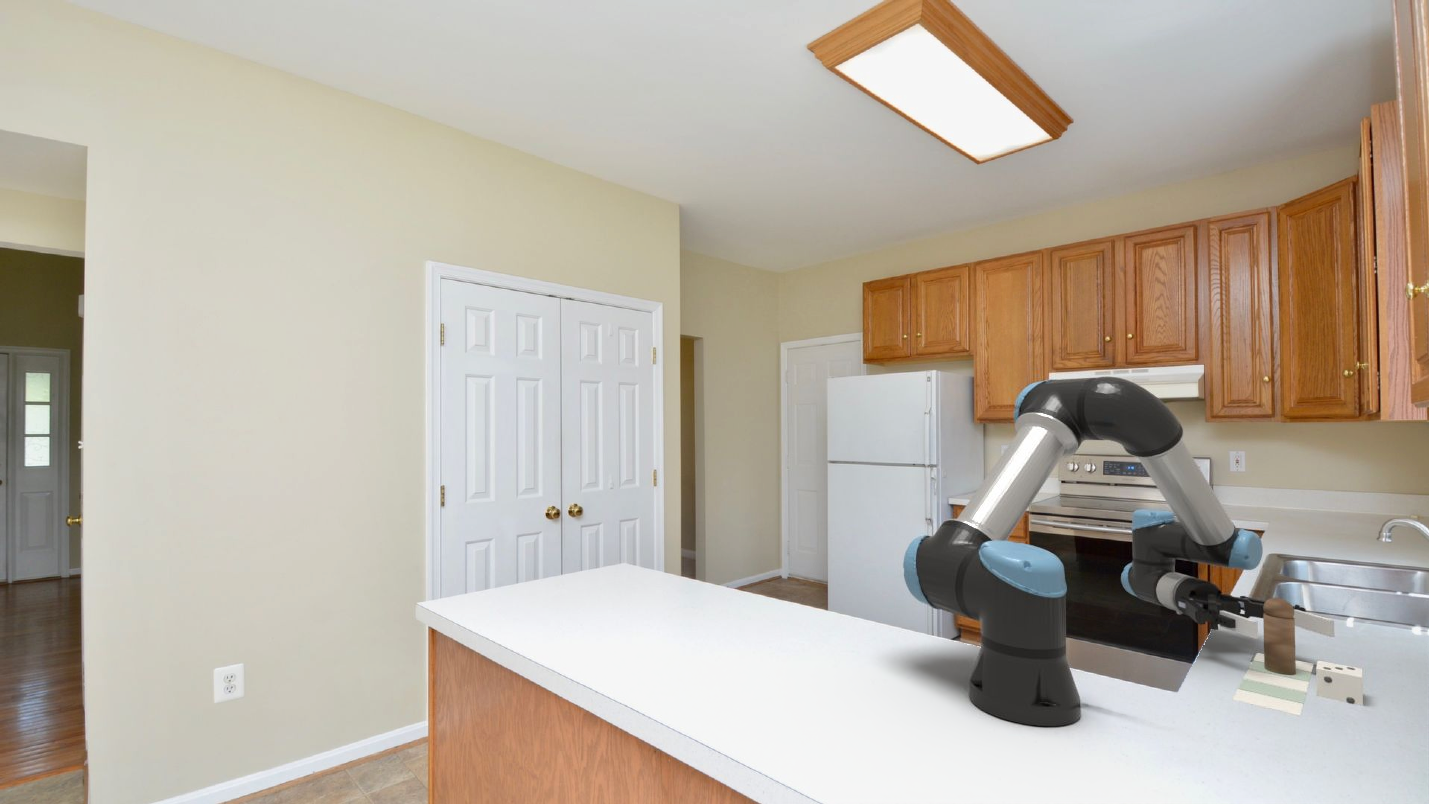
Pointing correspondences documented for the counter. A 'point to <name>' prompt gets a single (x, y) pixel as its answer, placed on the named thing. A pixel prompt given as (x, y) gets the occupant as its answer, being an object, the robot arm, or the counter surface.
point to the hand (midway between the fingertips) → (1294, 629)
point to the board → (1269, 702)
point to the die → (1339, 682)
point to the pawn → (1279, 636)
